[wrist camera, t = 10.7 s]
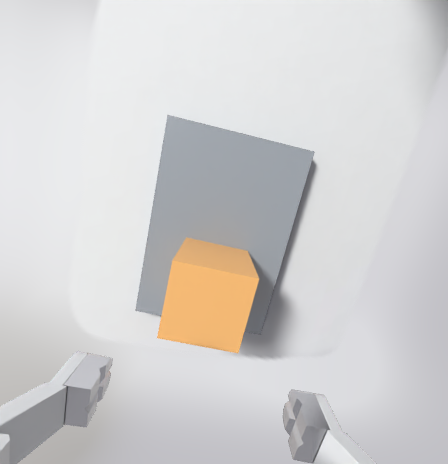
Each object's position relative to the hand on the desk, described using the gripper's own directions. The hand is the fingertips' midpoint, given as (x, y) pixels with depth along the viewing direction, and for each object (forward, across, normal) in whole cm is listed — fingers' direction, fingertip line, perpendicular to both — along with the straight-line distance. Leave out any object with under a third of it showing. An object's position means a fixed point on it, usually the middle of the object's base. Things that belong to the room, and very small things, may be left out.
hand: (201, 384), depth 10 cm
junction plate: (+15, 0, -3) cm, 16 cm away
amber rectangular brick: (+14, 0, +1) cm, 14 cm away
